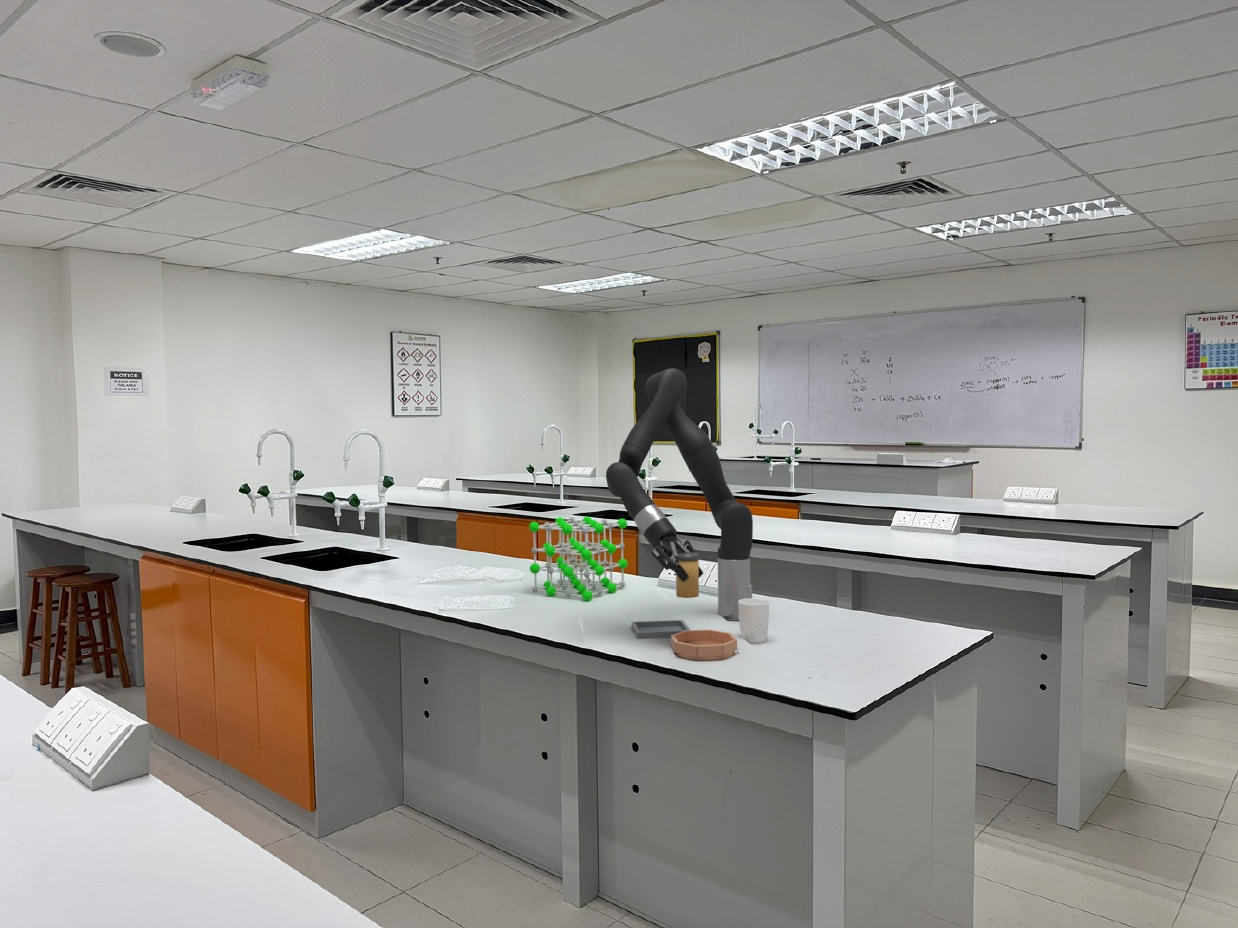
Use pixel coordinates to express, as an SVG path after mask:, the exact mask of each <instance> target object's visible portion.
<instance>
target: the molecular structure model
mask: <svg viewBox="0 0 1238 928" xmlns="http://www.w3.org/2000/svg"><path fill="white" fill-rule="evenodd" d="M627 526H628V521H627V520H626V519H625V518H620V519H618V520H617V522H613V521H608V520H607V519H606V518H605V519H602V520H601V521H600V520H598V521H597V520H595V519H592V517H590V516H585V517H583V519H575V518H574V517H573V516H572V517H570V518H569V519H568V520H565V518H563V517H560V516H559V517H557V518H556V519H555V521H554V522H553V523H550V522H549V521H546V522H545V523H544V524H541V525H539V523H538V521H537V522H536V521H532V522H530V523H529V525H528V529H529V531H530V532H532V533H533V535H532V537H533V547H532V548H531V553H532V554H533V563H532V564H531V565H530V566H529V571H530V573H531V574H534V575H533V576H534V586H533V587H532V589H531V590H532V592H533V593H537V592H539V593H546V596H548V597H554V596H555V595H563V596H565V595H566V597H569V598H570V597H572V596H574V597H580V598H582V599H583V601H585V602H590V601H591V600H592V599H593V596H595V595H598V596H600V595H602V593H604V592H608V593H610V594H614V593H616V592H617V588H624V587H625V586H626V583H625V581H624V577H625V576H624V575H625V574H624V569H626V568H627V567H628V565H629V564H628V561H627V559H626V558H624V549H625V547H626V546H625V544H624V537H623V536H624V532H623V531H624V529H625V528H627ZM615 527H618V528H619V529H620V543H618V544H614V543H612V542H613V541H612V529H613V528H615ZM539 529H541V530H545V531H546V532H545V537H546V542H544V544H543V545H542V547H541V548H537V546H536V544H537V543H536V540H537V539H536V532H538V531H539ZM606 529H608V531H609V540H608V539H606V537H607V536H606ZM553 531H558V533H559V534H558V536H559V537H558V539H559V540H558V542H557V544H556V545H553V544H552V532H553ZM577 532H579V541H578V539H577ZM589 532H591V541H590V540H589ZM602 533H603V539H601V540H600V537H601V536H600V534H602ZM582 534H583V535H584V541H583V540H582V539H583V538H582ZM595 534H597V542H595ZM565 535H566V543H565ZM570 535H571V537H570ZM617 549H621V550H620V551H621V554H620V555H621V556H620V557H621V558H620V559H619V560H618V561H617V562H613V554H614V553H616V550H617ZM538 552H541V553H544V554H545V555H546V563H545V565H543V566H542V565H541V566H540V564H538V563H537V553H538ZM602 553H603V560H602V561H601V554H602ZM555 554H559V557H557V558H556V559H555V563H552V561H553V559H552V557H554V556H555ZM607 554H609V562H608V560H607ZM595 555H597V560H595ZM565 556H566V559H565ZM578 556H579V558H578ZM545 568H546V569H545ZM554 568H556V569H554ZM615 568H619V569H621V581H619V583H615V582H613V570H615ZM607 570H608V571H609V574H610V575H609V576H610V577H609V578H608V577H607ZM540 571H543V572H546V577H547V578H546V579H547V580H546V581H544V583H543V587H542V586H541V587H538V586H537V584H538V583H537V582H538V581H537V574H538V573H539V572H540ZM578 571H579V572H578ZM553 573H559V579H558V581H557V583H553ZM591 574H592V580H591V578H590V576H591ZM578 575H579V576H580V578H579V576H578ZM602 575H603V576H604V577H602V578H601V576H602ZM596 576H597V577H598V580H596V579H595V577H596ZM583 577H584V578H585V579H583ZM566 578H567V580H566ZM590 583H591V584H590ZM590 589H592V590H590ZM594 589H595V590H594ZM560 591H566V592H560ZM572 591H573V592H572Z"/></svg>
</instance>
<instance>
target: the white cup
mask: <svg viewBox="0 0 1238 928" xmlns="http://www.w3.org/2000/svg"><path fill="white" fill-rule="evenodd" d="M738 608H739V620H738V621H739V623H738V624H739V631H740V638H743V639H744V640H745V641H746V642H747V643H748V644H761V643H762V644H763V643H765V642H767V641H768V630H769V623H770V622H769V621H770V619H769V617H770V616H769V615H770V601H769V600H768V599H764V598H755V597H754V598H753V597H752V598H748V599H741V600H739V601H738Z"/></svg>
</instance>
